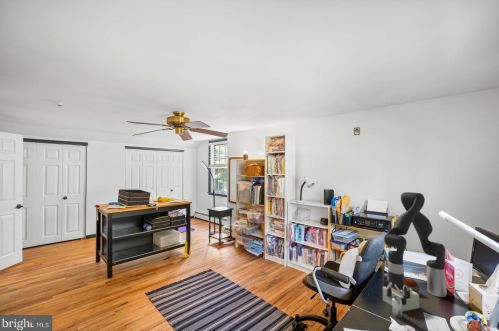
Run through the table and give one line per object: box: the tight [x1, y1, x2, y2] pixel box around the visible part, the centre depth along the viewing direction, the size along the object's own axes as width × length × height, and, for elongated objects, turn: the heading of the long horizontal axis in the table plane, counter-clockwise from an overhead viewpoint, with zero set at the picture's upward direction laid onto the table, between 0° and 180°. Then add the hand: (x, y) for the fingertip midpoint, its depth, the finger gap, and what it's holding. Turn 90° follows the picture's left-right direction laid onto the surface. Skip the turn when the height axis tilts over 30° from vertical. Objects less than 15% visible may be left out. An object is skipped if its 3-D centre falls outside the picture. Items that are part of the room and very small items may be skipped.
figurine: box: [389, 276, 420, 293], centre depth 146 cm, size 15×9×20 cm
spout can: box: [391, 296, 403, 319], centre depth 120 cm, size 4×4×11 cm
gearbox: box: [382, 285, 420, 312], centre depth 133 cm, size 14×15×10 cm
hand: (396, 300), depth 120 cm, fingers open, 8 cm apart
